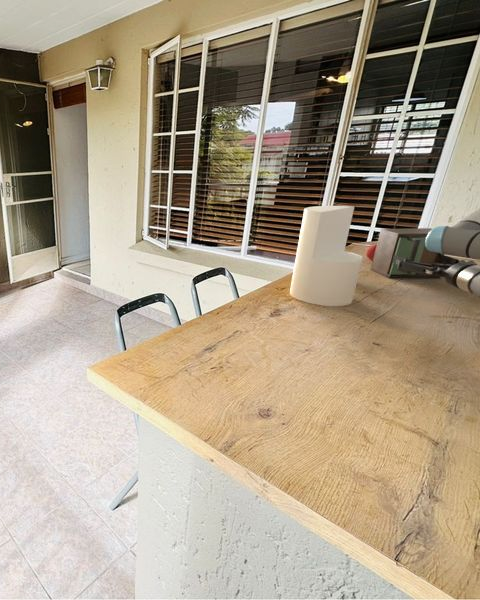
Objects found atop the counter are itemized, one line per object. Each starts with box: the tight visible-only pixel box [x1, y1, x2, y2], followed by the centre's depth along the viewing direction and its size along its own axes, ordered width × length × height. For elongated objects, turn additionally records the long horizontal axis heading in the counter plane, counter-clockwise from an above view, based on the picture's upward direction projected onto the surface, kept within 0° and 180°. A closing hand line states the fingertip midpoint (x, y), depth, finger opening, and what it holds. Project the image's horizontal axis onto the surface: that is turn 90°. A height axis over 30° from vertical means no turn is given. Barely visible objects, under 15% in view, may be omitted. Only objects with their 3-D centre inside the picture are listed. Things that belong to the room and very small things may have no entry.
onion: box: [365, 243, 377, 262], centre depth 147 cm, size 6×6×8 cm
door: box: [389, 237, 426, 275], centre depth 122 cm, size 6×8×14 cm
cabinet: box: [370, 227, 445, 280], centre depth 128 cm, size 12×16×16 cm
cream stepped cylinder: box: [289, 205, 364, 307], centre depth 109 cm, size 17×17×28 cm
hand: (417, 258), depth 118 cm, fingers open, 13 cm apart
